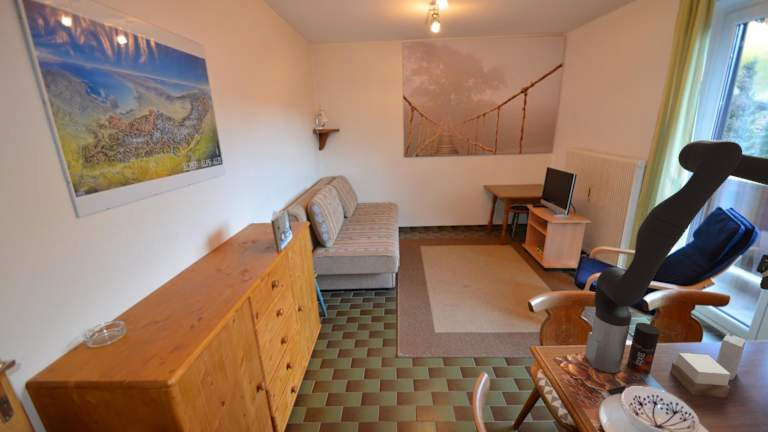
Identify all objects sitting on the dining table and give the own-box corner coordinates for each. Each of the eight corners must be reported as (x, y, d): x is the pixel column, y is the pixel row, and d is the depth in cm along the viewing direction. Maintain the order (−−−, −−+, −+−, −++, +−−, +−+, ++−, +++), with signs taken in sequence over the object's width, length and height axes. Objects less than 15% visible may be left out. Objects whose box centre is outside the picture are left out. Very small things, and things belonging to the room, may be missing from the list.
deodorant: (647, 364, 106) (656, 325, 102) (652, 377, 101) (662, 336, 97) (625, 359, 108) (633, 320, 104) (629, 371, 103) (638, 331, 99)
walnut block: (691, 395, 94) (694, 384, 93) (669, 372, 103) (672, 362, 102) (726, 398, 93) (730, 387, 92) (701, 375, 101) (704, 364, 100)
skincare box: (732, 381, 98) (743, 347, 95) (712, 372, 102) (722, 339, 99) (737, 372, 102) (748, 340, 98) (717, 364, 105) (727, 332, 102)
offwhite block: (695, 383, 93) (699, 371, 92) (675, 363, 101) (678, 352, 100) (727, 385, 92) (730, 374, 91) (704, 365, 100) (707, 354, 99)
